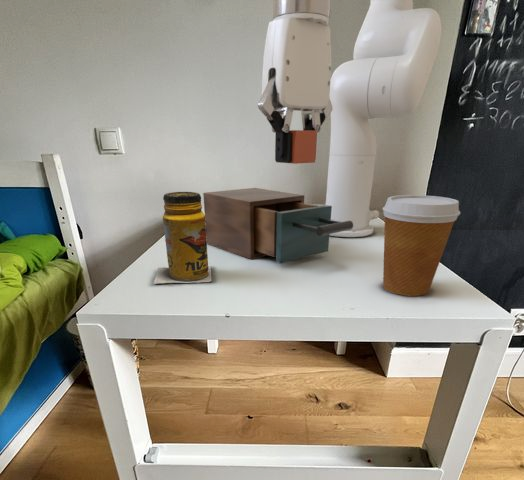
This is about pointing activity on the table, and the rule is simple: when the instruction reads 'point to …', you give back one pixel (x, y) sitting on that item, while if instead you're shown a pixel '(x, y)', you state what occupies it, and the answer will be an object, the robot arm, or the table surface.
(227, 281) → the table surface
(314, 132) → the block
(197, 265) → the condiment
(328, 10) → the robot arm
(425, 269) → the disposable coffee cup
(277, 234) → the drawer
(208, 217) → the cabinet
